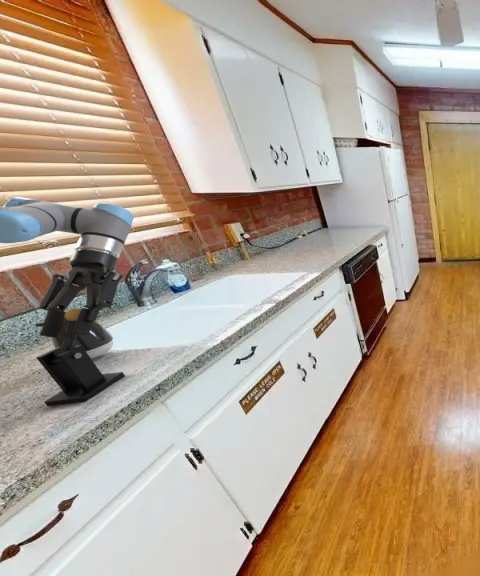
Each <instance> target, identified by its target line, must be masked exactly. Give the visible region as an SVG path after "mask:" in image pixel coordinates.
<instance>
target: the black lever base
mask: <svg viewBox="0 0 480 576" xmlns="http://www.w3.org/2000/svg"><path fill="white" fill-rule="evenodd" d="M61 349H62V347H57V348H55V347H54V348H52V349H51V350H49V351H47V352H44V353H43V354H40V355H39V356H37V357H36V360H37V361H38V362H39V363H40V365H41V366H42V367H43V368H44V370H45V371H46V372H47V373H48V374H49V377H51V378H52V379H53V380H54V382H55V383H56V384H57V386H58V387H59V388H60V389H61V391H60V392H58V393H56V394H54V395H53V396H51V397H49V398H48V399H46V400H44V401H43V403H44V404H45V405H46V406H47V407H53V406H54V407H55V406H63V405H64V406H65V405H71V404H80V403H86V402H88V401H89V400H91V399H93V398H94V397H96V396H97V395H99V394H100V393H102V392H103V391H105V390H106V389H108V388H109V387H111V386H113V385H114V384H116V383H118V381H120V380H122V379H123V378H124V377H126V375H125V373H124V372H123V371H118V372H117V371H116V372H109V373H108V372H107V373H102V372H101V371H100V369H99V368H98V366H97V365H96V363H95V362H94V360H93V358H92V359H91V358H90V357H89V355H88V354H87V352H86V351H85V350H84V348H83V347H82V345H79V346H75V347H73V348H71V349H69V350H67V351H65V352H63V353H61V354H59V355H57V357H58V358H59V360H60V361H61V362H62V363H51V360H52V357H53V354H54V352H55V351H61Z"/></svg>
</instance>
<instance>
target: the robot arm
mask: <svg viewBox="0 0 480 576" xmlns="http://www.w3.org/2000/svg"><path fill="white" fill-rule="evenodd" d="M134 219H135V218H134V214H133V213H132V212H131V211H130V210H128V209H126V208H125V207H123V206H119V205H118V204H117V205H116V204H112V203H107V202H106V203H101V202H100V203H96V204H94V205H93V206H92V207H91V208H86V207H77V206H73V205H68V204H67V205H66V204H63V203H62V204H61V203H57V202H52V201H51V202H50V201H46V200H41V199H37V198H27V197H19V196H18V197H17V196H16V197H12V198H10V199H8V201H6V202H5V204H4V205H0V244H16V243H25V242H28V241H32V240H34V239H36V238H39V237H42V236H45V235H48V234H51V233H55V232H62V233H68V234H76V235H80V236H79V239H78V240H77V242H76V245H75V247H74V250H73V252H72V255H71V256H70V259H69V261H68V262H69V264H70V266H71V268H70V269H69V270H68V271H67V273H63V274H60V273H59V274H58V273H54V274H53V275H52V276H51V282H50V285H49V286H48V288H47V290H46V292H45V294H44V296H43V298H42V300H41V302H40V303H39V305H38V309H39V310H44V311H47V312H46V315H45V318H44V319H43V322H44V323H45V324H44V326H43V327H41V330H40V333H39V336H40V337H48V338H51V337H53V338H54V337H57V336H58V334H59V332H60V329H61V327H62V324H63V322H64V320H65V316H64V314H65V312H66V309H67V308H68V307H69V306H70V304H71V303H72V302H73V301H74V300H75V298H76V297H77V296H78V295H79V293H80V292H81V291H85V289H86V304H84V305H82V306H83V308H82V307H81V308H82V309H81V311H80V314H79V316H78V319H77V321H76V324H75V326H74V329H73V331H72V333H76V334H82V335H88V334H89V332H90V329H91V326H92V324H93V322H94V321H97V319H98V316H99V313H100V311H102V310H103V309H105V308H106V309H109V308H111V307H112V306H113V302H114V299H115V296H116V292H117V290H118V287H119V286H118V285H119V283H120V281H122V278H124V275H123V274H121V273H118V272H116V271H115V270H116V268H117V266H118V262H119V258H120V256H121V254H122V251H123V248H124V246H125V243H126V241H127V238H128V236H129V234H130V231H131V229H132V225H133V224H132V223H133V220H134Z"/></svg>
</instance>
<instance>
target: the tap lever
mask: <svg viewBox="0 0 480 576" xmlns="http://www.w3.org/2000/svg"><path fill="white" fill-rule="evenodd" d="M81 309H82V307H73V308H70V309H68V310H65V311H64V312H65V314H64V316H65V318H66V319H67V320H69V321H70V323H69V326H68V329H67V332H66V336H65V339H64V342H63V345H62V349H61V351H55V352H54V354H53V357H52V360H51V363H62V362H61V361H60V360H59V358H58V357H57V355H59V354H61V353H63V352H65V351H67V350H69V349H71V348H72V345H73V341H74V338H75V335H76V333H72V331H73V329H74V326H75V324H76V321H77V319H78V316H79V314H80V311H81Z"/></svg>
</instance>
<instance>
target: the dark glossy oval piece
mask: <svg viewBox="0 0 480 576" xmlns="http://www.w3.org/2000/svg"><path fill="white" fill-rule="evenodd" d="M69 323H70V321H69V320H67V319H66V318H65V320H64V322H63V324H62V327H61V329H60V332H59V334H58V336H57V337H54V338H53V337H50V338H51V342H52V344H53V346H54V349H55V348H57V347H62V345H63V342H64V339H65V336H66V332H67V329H68V326H69ZM44 324H45V323H44V321H42V322H35V323H34V326H35V328H36V327H37V328H39V327H41V328H43V326H44ZM113 339H114V337H113V335H112V334H111V333H110V332H109V331H108V330H107V329H106V328H105V327H104V326H103V325H101V324H100V323H99V322H97V320H95V321H94V322H93V324H92V326H91V329H90V332H89V334H88V335H82V334H76V335H75V338H74V341H73V345H72V348H73V347H75V346H79V345H82V347H83V348H84V350H85V351H86V352H87V354H88V355H89V357H90V358H91V359H92V360H93V359H95V358H98V357H101V356H103V355H105V354H107V353H108V352H109V351H110V350H111V349H112V347H113V345H114V340H113Z"/></svg>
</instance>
